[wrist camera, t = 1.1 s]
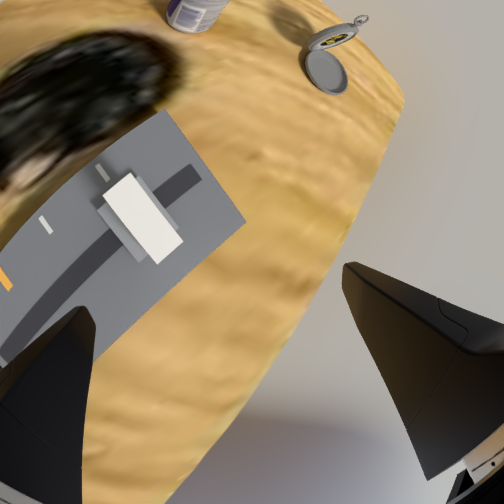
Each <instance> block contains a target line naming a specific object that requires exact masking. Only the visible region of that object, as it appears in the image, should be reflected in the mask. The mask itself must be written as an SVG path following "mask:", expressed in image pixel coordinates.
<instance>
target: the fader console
mask: <svg viewBox="0 0 504 504" xmlns="http://www.w3.org/2000/svg"><path fill="white" fill-rule="evenodd" d="M129 173H131V174H132V175H133V177H134V178H136V177H137V176H140V177H141V178H142V180H143V181H144V182H145V184H146V185H147V186H148V188H149V189H150V190H151V192H152V193H153V194H154V196H155V197H156V198H157V200H158V201H159V202H160V204H161V205H162V206H163V207H164V209H165V210H166V211H167V213H168V214H169V215H170V217H171V218H172V219H173V220H174V222H175V223H176V224H177V226H178V227H179V228H178V229H177V230H176V233H177V234H178V235H179V236H180V238H181V239H182V240H183V242H182V243H181V244H180V245H179V246H178V247H176V248H175V249H174V250H173V251H172V252H171V253H170V254H169V255H167V256H166V257H165V258H164V259H163V260H162V261H161V262H160V263H158V264H156V262H155V261H154V260H153V259H152V258H151V256H150V255H149V254H148V255H147V256H146V257H145V258H144V259H143V260H142V261H141V262H138V261H137V260H136V259H135V258H134V256H133V255H132V254H131V253H130V252H129V250H128V249H127V248H126V247H125V245H124V244H123V243H122V242H121V241H120V239H119V238H118V237H117V236H116V234H115V233H114V232H113V231H112V229H111V228H110V227H109V225H108V224H107V223H106V222H105V220H104V219H103V218H102V216H101V215H100V214H99V212H98V211H97V210H98V209H99V208H100V207H101V206H102V205H104V204H105V203H106V202H107V201H106V200H105V198H104V197H103V196H102V195H104V194H105V193H106V192H107V191H108V190H110V189H111V188H112V187H113V186H114V185H116V184H117V183H118V182H119V181H120V180H122V179H123V178H124V177H125V176H127V175H128V174H129ZM245 223H246V220H245V219H244V218H243V216H242V215H241V213H240V212H239V211H238V209H237V208H236V206H235V205H234V204H233V202H232V201H231V199H230V198H229V197H228V195H227V194H226V192H225V191H224V190H223V188H222V187H221V185H220V184H219V183H218V181H217V180H216V178H215V177H214V176H213V174H212V173H211V171H210V170H209V169H208V167H207V166H206V165H205V163H204V162H203V160H202V159H201V158H200V156H199V155H198V154H197V152H196V151H195V149H194V148H193V147H192V145H191V144H190V142H189V141H188V140H187V138H186V137H185V136H184V134H183V133H182V132H181V130H180V129H179V127H178V126H177V125H176V123H175V122H174V121H173V119H172V118H171V117H170V115H169V114H168V112H167V111H166V110H165V109H163V110H162V111H160V112H159V113H157V114H155V115H154V116H152V117H151V118H149V119H148V120H146V121H145V122H143V123H142V124H140V125H139V126H137V127H136V128H134V129H133V130H131V131H130V132H128V133H127V134H126V135H124V136H123V137H121V138H120V139H119V140H117V141H116V142H115V143H113V144H112V145H111V146H109V147H108V148H107V149H105V150H104V151H103V152H101V153H100V154H99V155H98V156H96V157H95V158H94V159H93V160H91V161H90V162H89V163H88V164H87V165H85V166H84V167H83V168H82V169H81V170H79V171H78V172H77V173H76V174H75V175H74V176H73V177H71V178H70V179H69V180H68V181H67V182H66V183H65V184H64V185H63V186H61V187H60V188H59V189H58V190H57V191H56V192H55V193H54V194H53V195H52V196H51V197H50V198H49V199H48V200H47V201H46V202H45V203H44V204H43V205H42V206H41V207H40V208H39V209H38V210H37V211H36V212H35V213H34V214H33V215H32V216H31V217H30V218H29V219H28V221H27V222H26V223H25V224H24V225H23V226H22V227H21V228H20V229H19V231H18V232H17V233H16V234H15V235H14V236H13V237H12V239H11V240H10V241H9V242H8V243H7V245H6V246H5V247H4V248H3V250H2V251H1V252H0V365H1V366H2V367H3V368H4V367H5V366H6V365H7V364H8V363H9V362H10V361H11V360H13V359H14V358H15V357H16V356H17V355H18V354H19V353H20V352H21V351H23V350H24V349H25V348H26V347H27V346H28V345H29V344H31V343H32V342H33V341H34V340H35V339H36V338H38V337H39V336H40V335H41V334H42V333H43V332H45V331H46V330H47V329H48V328H49V327H51V326H52V325H53V324H54V323H55V322H57V321H58V320H59V319H60V318H61V317H63V316H64V315H65V314H66V313H68V312H69V311H70V310H71V309H73V308H74V307H76V306H83V305H84V306H86V307H87V309H88V310H89V312H90V314H91V316H92V318H93V320H94V321H95V324H96V336H95V345H94V355H93V362H94V361H95V360H96V359H97V358H98V357H99V356H100V355H101V354H102V353H104V352H105V351H106V350H107V349H108V348H109V347H110V346H111V345H112V344H113V343H114V342H115V341H116V340H117V339H118V338H119V337H120V336H121V335H122V334H123V333H124V332H126V331H127V330H128V329H129V328H130V327H131V326H132V325H133V324H134V323H135V322H136V321H137V320H138V319H139V318H140V317H141V316H143V315H144V314H145V313H146V312H147V311H148V310H149V309H150V308H151V307H152V306H153V305H154V304H155V303H157V302H158V301H159V300H160V299H161V298H162V297H163V296H164V295H165V294H166V293H167V292H169V291H170V290H171V289H172V288H173V287H174V286H175V285H176V284H177V283H178V282H180V281H181V280H182V279H183V278H184V277H185V276H186V275H187V274H188V273H189V272H191V271H192V270H193V269H194V268H195V267H196V266H197V265H198V264H199V263H201V262H202V261H203V260H204V259H205V258H206V257H207V256H208V255H210V254H211V253H212V252H213V251H214V250H215V249H216V248H217V247H219V246H220V245H221V244H222V243H223V242H224V241H225V240H227V239H228V238H229V237H230V236H231V235H232V234H233V233H235V232H236V231H237V230H238V229H239V228H240V227H241V226H243V225H244V224H245Z"/></svg>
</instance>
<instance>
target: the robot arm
mask: <svg viewBox="0 0 504 504" xmlns="http://www.w3.org/2000/svg"><path fill="white" fill-rule="evenodd" d="M342 289H343V292H344V295H345V297H346V300H347V302H348V305H349V308H350V310H351V313H352V315H353V318H354V320H355V323H356V325H357V327H358V329H359V332H360V333H361V336H362V337H363V339H364V341H365V343H366V345H367V347H368V349H369V351H370V353H371V355H372V357H373V359H374V361H375V363H376V365H377V367H378V369H379V371H380V373H381V376H382V377H383V379H384V382H385V384H386V386H387V388H388V390H389V392H390V395H391V397H392V399H393V401H394V403H395V405H396V408H397V410H398V412H399V414H400V416H401V419H402V421H403V423H404V426H405V428H406V429H407V430H406V431H407V433H408V435H409V437H410V440H411V442H412V445H413V447H414V449H415V452H416V454H417V457H418V459H419V462H420V464H421V467H422V470H423V472H424V475H425V477H426V479H427V481H428V480H430V479H432V478H434V477H435V476H437V475H439V474H440V473H442V472H444V471H445V470H447V469H448V468H450V467H452V466H453V465H455V464H456V463H458V462H459V461H461V460H463V462H464V464H465V466H466V469H465V470H463V471H462V472H460V473H459V474H457V477H456V480H455V482H454V485H453V488H452V490H451V493H450V495H449V498H448V500H447V502H446V504H504V324H502V323H499V322H497V321H494V320H492V319H489V318H486V317H484V316H481V315H478V314H476V313H473V312H471V311H468V310H465V309H463V308H460V307H458V306H456V305H453V304H451V303H449V302H446V301H444V300H442V299H440V298H437V297H436V296H433V295H431V294H429V293H427V292H425V291H422V290H420V289H418V288H415V287H413V286H411V285H409V284H407V283H404V282H402V281H400V280H397V279H395V278H393V277H391V276H388V275H386V274H384V273H381V272H379V271H377V270H374V269H372V268H370V267H367V266H365V265H362V264H360V263H358V262H349V263H345V264H344V266H343V273H342ZM95 336H96V324H95V321H94V320H93V318H92V316H91V314H90V312H89V310H88V309H87V307H86V306H84V305H83V306H76V307H74V308H73V309H71V310H70V311H69V312H68V313H66V314H65V315H64V316H63V317H61V318H60V319H59V320H58V321H57V322H55V323H54V324H53V325H52V326H51V327H49V328H48V329H47V330H46V331H45V332H43V333H42V334H41V335H40V336H39V337H38V338H36V339H35V340H34V341H33V342H32V343H31V344H29V345H28V346H27V347H26V348H25V349H24V350H23V351H21V352H20V353H19V354H18V355H17V356H16V357H15V358H14V359H13V360H11V361H10V362H9V363H8V364H7V365H6V366H5V367H4V368H3V369H1V370H0V504H82V468H81V467H82V450H83V435H84V423H85V414H86V405H87V397H88V390H89V384H90V378H91V372H92V365H93V355H94V345H95Z"/></svg>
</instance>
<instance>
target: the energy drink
mask: <svg viewBox="0 0 504 504" xmlns="http://www.w3.org/2000/svg"><path fill="white" fill-rule="evenodd" d="M229 1H230V0H171V1H170V3H169V6H168V8H167V11H166V20H167V22H168V23H169V25H170V26H171V27H173V28H174V29H176V30H178V31H181V32H184V33H200V32H204V31H206V30H208V29H209V28H211V27H212V25H213V24H214V22H215V21H216V19H217V18H218V17H219V15H220V14H221V12H222V11H223V9H224V8H225V6H226V5H227V4H228V2H229Z"/></svg>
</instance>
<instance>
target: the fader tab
mask: <svg viewBox="0 0 504 504" xmlns="http://www.w3.org/2000/svg"><path fill="white" fill-rule="evenodd" d="M102 196H103V197H104V198H105V200H106V201H107V202H106V203H105V204H104V205H102V206H101V207H100V208H99V209H98V210H97V211H98V212H99V214H100V215H101V216H102V218H103V219H104V220H105V222H106V223H107V224H108V225H109V227H110V228H111V229H112V231H113V232H114V233H115V234H116V236H117V237H118V238H119V239H120V241H121V242H122V243H123V244H124V245H125V247H126V248H127V249H128V250H129V252H130V253H131V254H132V255H133V256H134V258H135V259H136V260H137V261H138V262H141V261H142V260H143V259H144V258H145V257H146V256H147V255H148V254H149V255H150V256H151V258H152V259H153V260H154V261H155V262H156V264H158V263H160V262H161V261H162V260H163V259H164V258H165V257H166V256H167V255H169V254H170V253H171V252H172V251H173V250H174V249H175V248H176V247H178V246H179V245H180V244H181V243H182V242H183V240H182V239H181V238H180V236H179V235H178V234H177V233H176V230H177V229H178V228H179V227H178V226H177V224H176V223H175V222H174V220H173V219H172V218H171V217H170V215H169V214H168V213H167V211H166V210H165V209H164V207H163V206H162V205H161V204H160V202H159V201H158V200H157V198H156V197H155V196H154V194H153V193H152V192H151V190H150V189H149V188H148V186H147V185H146V184H145V182H144V181H143V180H142V178H141V177H140V176H137V177H136V178H134V177H133V175H132V174H131V173H129V174H128V175H127V176H125V177H124V178H123V179H122V180H120V181H119V182H118V183H117V184H116V185H114V186H113V187H112V188H111V189H110V190H108V191H107V192H106V193H105V194H104V195H102Z"/></svg>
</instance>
